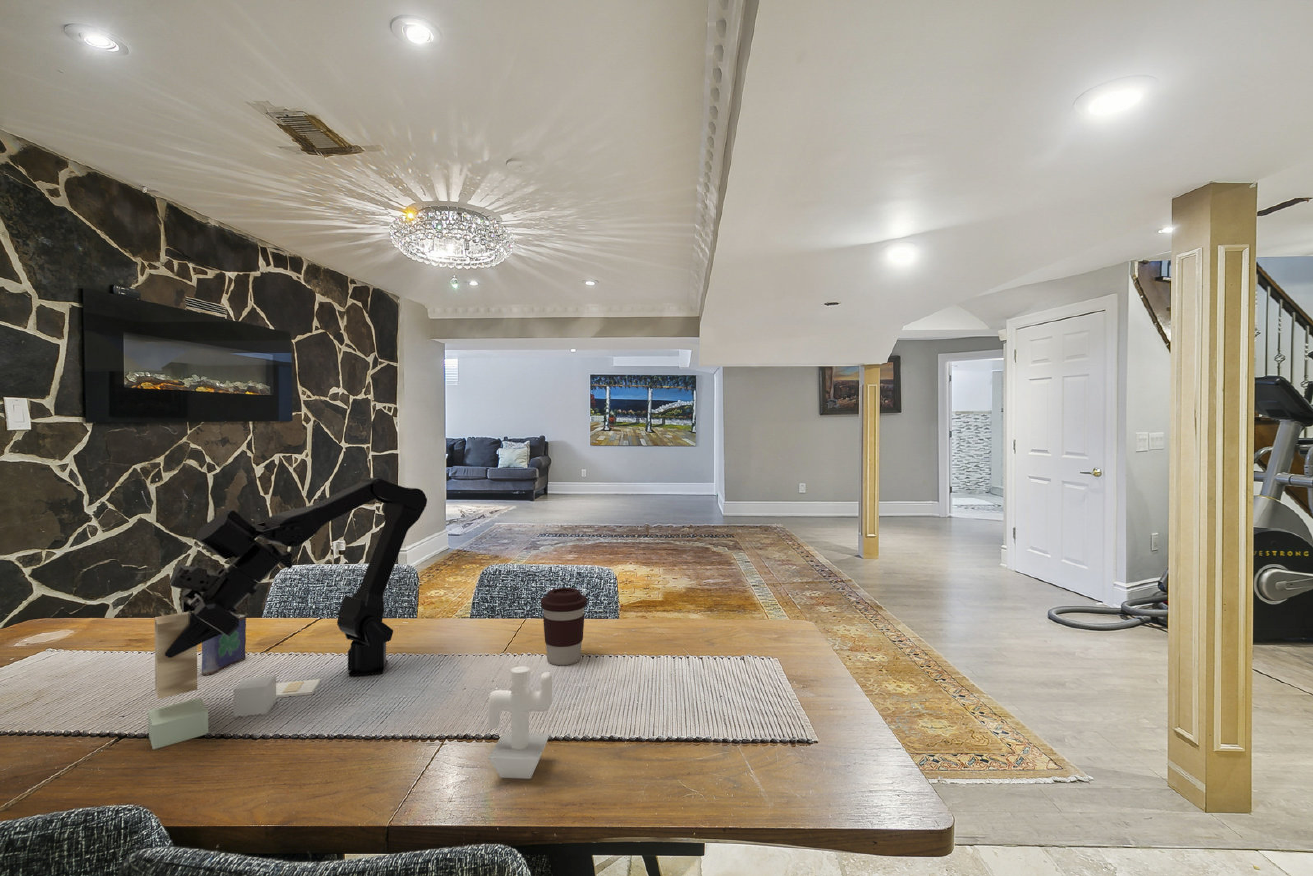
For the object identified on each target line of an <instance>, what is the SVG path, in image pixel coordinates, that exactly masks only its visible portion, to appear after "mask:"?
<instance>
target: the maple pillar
mask: <svg viewBox="0 0 1313 876" xmlns="http://www.w3.org/2000/svg"><path fill="white" fill-rule="evenodd" d="M192 612H193V611H192ZM193 613H194V612H193ZM187 624H188V612H184V613H182V612H179V613H174V614H167V615H160V616H155V617H154V671H155V673H154V674H155V675H154V676H155V680H154V681H155V682H154V683H155V684H154V685H155V686H154V687H155V692H156V696H157V698H158V699H157V700H161V699H164V698H169V697H173V696H176V695H181V694H184V693H190V692H193V691H197V690H198V645H196V646H194V647H192V648H190V649H188V650H186V651H184V652H182V653H180V654H178V655H176V656H174V657H172V658H169V657H167V656H165V653H166V651H167V650H168V649H169V647H170V646H171V645H172V643H173V642H174V641H175V640H176V638H177V637H178V636H179V635H180V633H181V632H182V631H183V629H184V628H185V627H186V626H187Z"/></svg>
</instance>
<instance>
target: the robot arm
mask: <svg viewBox="0 0 1313 876" xmlns="http://www.w3.org/2000/svg"><path fill="white" fill-rule="evenodd" d="M374 500H375V501H377V502H379V503H380V504H381V503H382V504H383V505H384V507H383V517H384V526H383V528H382V531H381V533H380V536H379V537H378V540H377V543H376V545H375V547H374V551H373V552H372V554H371V555H372V556H371V558H370V561H369V563H368V566H367V568H366V570H365V573H364V576H363V579H362V581H361V584H360V586H359V588H358V589H357V591H356V592H355V593H354V594H353V595H352V596H349V595H345V596H344V597H343V599H342V602H341V607H340V608H339V610H338V611H337V613H336V616H337V621H336V623H337V624H336V625H337V626H338V628H339V630H340V631H341V632H342V633H344V635H345V638H346V640H350V641H351V642H350V648H349V649H348V651H347V670H348V671H349V672H348V677H357V676H367V675H379V674H383V673H384V672H385V670H386V668H387V665H388V663H389V660H388V659H387V642H390V641H391V640H392V637H393V634H394V630H393V628H391V627H390V626H388V625H387V624H386V623H385V622H383V618H384V613H385V601H384V595H385V594H384V593H385V592H386V588H387V587H388V583H389V580H390V578H391V576H392V572H393V570H394V567H395V565H396V562H397V560H398V557H399V555H400V552H401V549H402V547H403V544H404V542H405V539H406V537H407V533H408V531H409V530H410V529H411V528H412V527H413V526H414V525H415V524H416V522H418V521H419V519H420V518H421V516H422V514H423V512H424V511H425V509H426V507H427V503H428V498H427V496H426V494H425V492H424V491H423V490H422V489H420V488H416V487H404V486H402V485H398V484H394V483H392V482H389V481H387V480H385V479H383V478H376V477H367V478H364V479H363V480H362V481H360V482H358V483H356V484H354V485H352V486H350V487H347V488H346V489H343V490H341V491H339V492H337V493H335V494H333V495H330V496H328V497H326V498H324V499H322V500H320V501H318V502H316V503H314V504H310V505H307V506H303V507H299V508H293V509H289V510H285V511H282V512H281V511H280V512H278V513H274V514H272V515H271V516H270V517H268V518H267V519H266V520H265V521H263V522H259V523H255V524H251V523H249V522H248V521H246V520H245V519H244V518H243V517H242V516H241V515H240V514H239V513H238V512H237V511H236V510H233V509H226V510H225V511H224V512H223V513H222V514H220V515H217V516H216V517H214V518H212V519H211V520H210V521H207V522H205V523H204V524H203V525H202V527H201V528H200V529H199V530H198V531H197V533H196V535H195V540H196V541H197V542H199V543H200V544H201V545H203V546H204V547H206V548H208V549H209V550H210V551H212V552H213V553H215V554H216V555H217V556H219V557H220V558H222V559H223V560H229V559H232V558H234V561H232V563H230V564H229V565H228V566H227V567H225V566H223V567H220V568H219V569H218V570H216V572H215V571H214V572H213V571H209V570H208V569H207V567H200V566H198V565H194V566H191V565H190V566H189V565H186V564H182V563H178V564H177V565H176V567H175V569H174V571H173V573H172V575H171V576H170V578H169V580H168V583H169V584H170V586H171V587H173V588H177V589H184V591H183V592H182V593H181V594H182V596H183V597H184V598H186V599H187V598H188V600H185V599H184V598H183V599H181V610H182V612H181V613H184V612H188V624H187V626H186V627H185V628H184V629H183V631H182V632H181V633H180V635H179V636H178V637H177V638H176V640H175V641H174V642H173V643H172V645H171V646H170V647H169V649H168V650H167V651H166V653H165V656H167V657H169V658H172V657H174V656H176V655H178V654H180V653H182V652H184V651H186V650H188V649H190V648H192V647H194V646H196V645H197V646H199V645H200V644H202V643H203V642H205V641H207V640H209V639H211V638H214V637H216V636H218V635H222V634H223V633H225V634H226V635H228V636H230V635H231V634H232V633H233V632H234V631H235V630H236V629H237V628H238V627H239V618H238V617H237V616H236V615H237V614H236V612H237V611H238V609H237V608H236V607H237V606H239V605H240V604H241V602H243V601H244V600H245V599H246V598H247V597H248V595H252V596H253V595H254V594H255V593H256V592H257V591H258V590H257V587H258V586H259V585H260V584H261V582H262V581H264V580H265V579H266V578H267V577H268V576H269V574H271V572H272V571H273V570H275V568H277V566H279V565H280V564H281V565H282V566H284V567H285V568H287V569H292V568H293V562H292V557H293V553H292V552H290V551H289V550H284V551H281V550H280V549H279V548H278V547H276V546H275V545H279V546H285V547H289V548H291V547H292V548H295V547H299V546H301V545H303V544H304V543H306V542H307V541H308V540H309V539H311V538H313V537H314V536H315V535H317V534H318V532H319V531H321V529H322V528H323V527H324V526H325V525H326V524H328V523H330V522H332V521H334V520H336V519H338V518H340V517H342V516H343V515H345V514H348V513H350V512H351V511H354V510H356V509H358V508H359V507H361V506H364V505H365V504H367V503H369V502H371V501H374ZM256 539H261V540H266V541H268V542H269V543H265V544H261V543H260V542H258V541H257V540H256ZM274 544H275V545H274ZM192 611H193V612H194V613H193V612H192Z"/></svg>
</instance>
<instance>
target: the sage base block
mask: <svg viewBox="0 0 1313 876" xmlns="http://www.w3.org/2000/svg"><path fill="white" fill-rule="evenodd" d="M148 733H149V735H148V738H149V741H150V746H151V748H152V750H156V749H159V748H163V747H168V746H169V745H174V744H177V743H180V742H185V741H188V740H190V739H195V738H198V737H201V736H204V735H207V734H206V733H208V734H209V710H208V708H207V707H206V705H205V703H204V701H203V699H202V697H198V698H193V699H189V700H186V701H182V702H178V703H174V704H171V705H170V704H169V705H167V706H162V707H159V708H154V709H150V710H148V711H147V734H148Z"/></svg>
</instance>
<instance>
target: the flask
mask: <svg viewBox="0 0 1313 876" xmlns="http://www.w3.org/2000/svg"><path fill="white" fill-rule="evenodd" d="M236 616H237V617H238V618H239V627H238V628H237V629H236V630H235V631H234V632H233V633H232V634H231V635H230V636H228V635H226V634H225V633H223V634H222V635H218V636H216V637H214V638H211V639H209V640H207V641H205V642H203V643H201V674H202V676H210V675H212V674H217V673H219V672H220V671H222V669H223V670H225V669H224V668H226V669H228V668H230V667H231V666H232V665H236V664H237V663H240V662H243V661H245V660H246V658H247V657H246V644H247V643H246V642H247V636H246V633H247V631H246V630H247V621H246V620H247V615H245V614H236Z"/></svg>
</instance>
